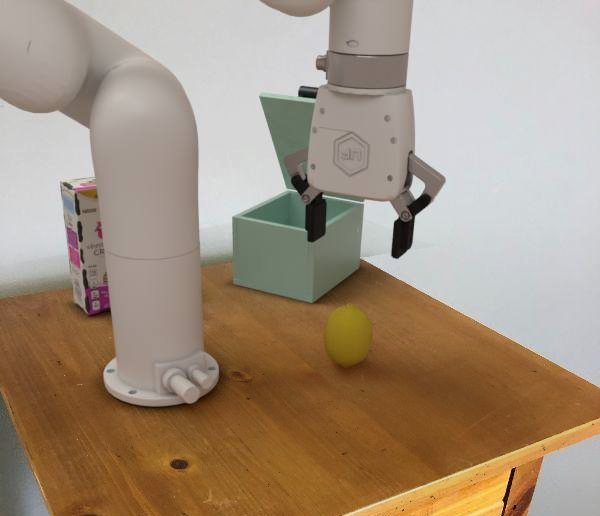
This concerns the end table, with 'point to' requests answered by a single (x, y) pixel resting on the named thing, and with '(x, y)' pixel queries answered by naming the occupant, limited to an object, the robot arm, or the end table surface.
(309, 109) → the lid
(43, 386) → the end table surface
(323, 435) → the end table surface
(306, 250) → the green box
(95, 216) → the candy bar box
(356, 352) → the lemon
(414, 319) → the end table surface
